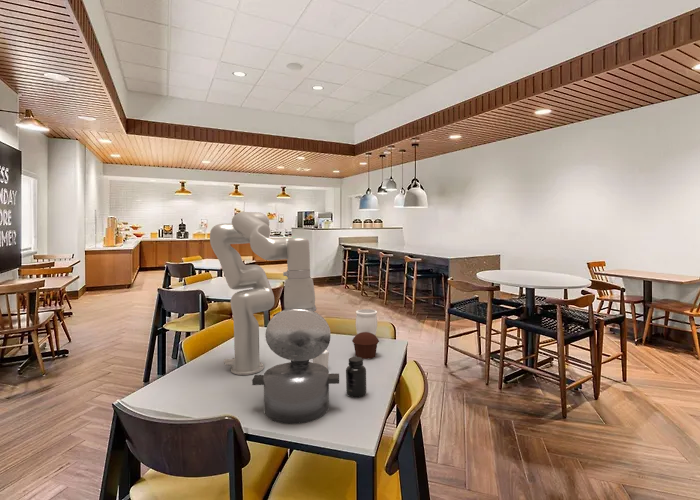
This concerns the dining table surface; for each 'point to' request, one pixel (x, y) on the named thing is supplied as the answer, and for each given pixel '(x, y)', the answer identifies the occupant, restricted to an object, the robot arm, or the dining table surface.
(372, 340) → the muffin
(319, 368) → the cooker pot
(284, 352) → the cooker lid
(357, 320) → the jar
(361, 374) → the supplement bottle
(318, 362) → the white cylinder
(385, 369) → the dining table surface
